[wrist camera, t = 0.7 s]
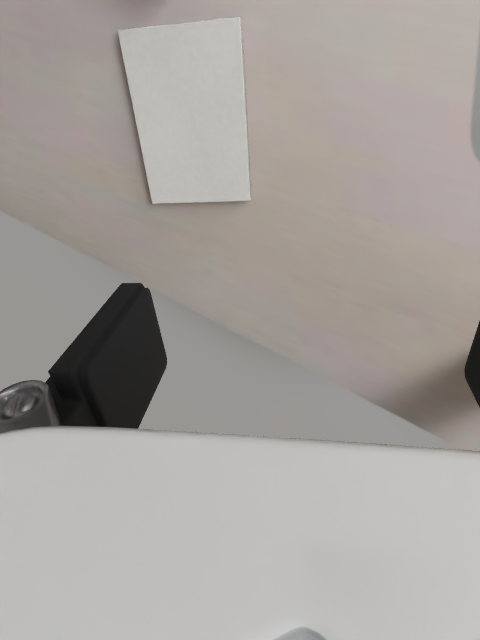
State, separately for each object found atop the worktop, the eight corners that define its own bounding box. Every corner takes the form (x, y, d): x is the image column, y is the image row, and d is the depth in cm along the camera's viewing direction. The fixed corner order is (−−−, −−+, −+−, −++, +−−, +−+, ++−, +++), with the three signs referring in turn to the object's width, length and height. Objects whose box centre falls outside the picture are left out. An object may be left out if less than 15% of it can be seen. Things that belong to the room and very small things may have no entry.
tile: (122, 30, 31) (117, 29, 30) (241, 17, 30) (239, 16, 29) (155, 200, 39) (152, 203, 38) (251, 198, 37) (250, 201, 37)
